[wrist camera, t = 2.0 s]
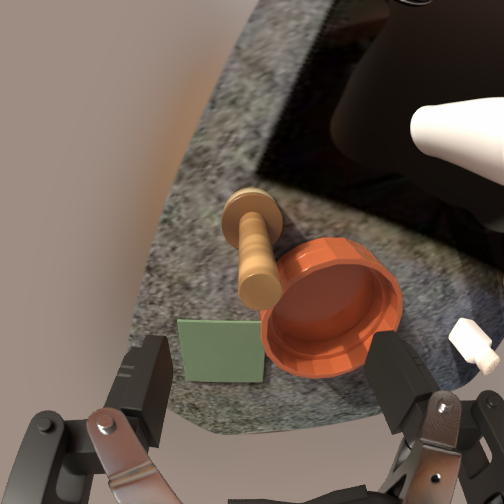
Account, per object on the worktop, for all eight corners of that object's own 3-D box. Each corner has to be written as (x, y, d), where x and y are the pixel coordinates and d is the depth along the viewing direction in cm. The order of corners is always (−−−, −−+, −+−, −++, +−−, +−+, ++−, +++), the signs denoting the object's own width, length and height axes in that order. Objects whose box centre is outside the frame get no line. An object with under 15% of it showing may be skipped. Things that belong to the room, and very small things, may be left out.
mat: (177, 319, 32) (176, 321, 31) (266, 320, 32) (267, 322, 32) (186, 378, 36) (186, 380, 35) (262, 380, 36) (262, 382, 36)
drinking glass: (458, 145, 25) (563, 173, 11) (418, 173, 26) (526, 216, 12) (434, 90, 22) (544, 87, 9) (391, 115, 24) (505, 118, 10)
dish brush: (223, 187, 26) (206, 243, 13) (280, 188, 27) (317, 244, 14) (223, 240, 28) (210, 332, 15) (277, 241, 29) (305, 332, 16)
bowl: (260, 234, 28) (264, 257, 23) (392, 237, 29) (418, 258, 24) (255, 347, 34) (258, 381, 29) (366, 341, 34) (381, 371, 29)
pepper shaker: (472, 318, 35) (506, 355, 26) (459, 339, 36) (490, 377, 27) (459, 315, 34) (494, 355, 25) (445, 337, 35) (477, 378, 27)
